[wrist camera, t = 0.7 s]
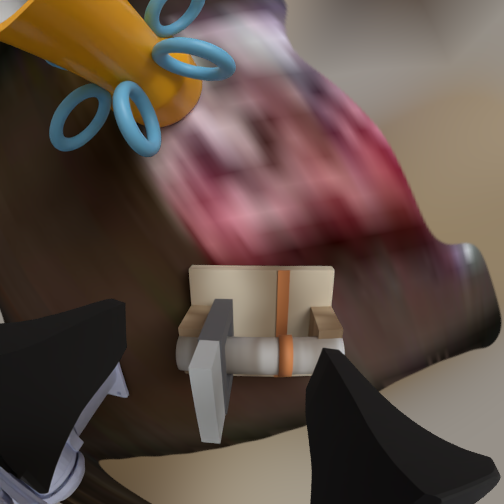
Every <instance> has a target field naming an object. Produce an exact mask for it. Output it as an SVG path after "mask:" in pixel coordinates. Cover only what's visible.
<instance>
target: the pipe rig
mask: <svg viewBox="0 0 504 504" xmlns="http://www.w3.org/2000/svg"><path fill="white" fill-rule="evenodd" d="M189 280H190V293H191V307H190V308H189V310H188V312H187V313H186V315H185V317H184V319H183V320H182V322H181V324H180V325H179V327H178V330H179V338H178V341H177V346H176V362H177V366H178V369H179V370H184V371H185V374H189V369H188V367H189V365H190V362H191V360H192V357H193V355H194V352H195V350H196V347H197V345H198V338H199V335H200V333H201V330H202V328H203V326H204V323H205V321H206V319H207V316H208V314H209V311H210V309H211V307H212V304H213V302H214V300H215V299H233V325H234V336H227V340H226V344H225V359H226V374H233V376H274V377H291V376H312V374H313V371H314V369H315V366H316V364H317V361H318V359H319V356H320V354H321V351H322V348H330V349H337V350H340V351H341V352H342V353H343V354H344V355H345V353H344V343H343V339H342V334H343V328H342V326H341V324H340V322H339V320H338V318H337V317H336V315H335V313H334V311H333V309H332V307H331V302H332V293H333V282H334V269H333V268H332V266H221V265H192V266H191V267H190V268H189Z"/></svg>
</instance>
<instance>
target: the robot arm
mask: <svg viewBox="0 0 504 504" xmlns="http://www.w3.org/2000/svg"><path fill="white" fill-rule="evenodd" d="M126 348H127V343H126V318H125V303H124V302H121V301H118V300H114V299H107V300H103V301H99V302H96V303H92V304H89V305H86V306H82V307H79V308H76V309H73V310H69V311H66V312H62V313H59V314H55V315H51V316H47V317H43V318H39V319H34V320H29V321H22V322H15V323H2V324H0V504H57V503H58V502H60V501H62V500H64V499H66V498H68V497H69V496H70V495H71V494H72V493H73V492H74V491H75V490H76V488H77V487H78V486H79V484H80V482H81V480H82V478H83V475H84V472H85V464H84V463H85V460H84V456H83V454H82V453H81V452H80V451H79V449H80V448H81V446H82V444H83V441H82V440H81V439H80V438H79V436H80V434H81V433H82V431H83V429H84V428H85V426H86V425H87V423H88V422H89V420H90V419H91V417H92V416H93V414H94V413H95V411H96V410H97V408H98V407H99V405H100V404H101V403H102V401H103V400H104V398H105V397H106V395H107V394H111V395H115V396H119V397H124V398H127V397H128V395H129V392H128V389H127V386H126V383H125V380H124V377H123V373H122V370H121V367H120V363H119V361H120V359H121V357H122V355H123V353H124V351H125V350H126ZM306 421H307V429H308V438H309V446H310V454H311V466H312V484H311V503H310V504H475V503H476V502H477V501H479V500H480V499H481V498H482V497H484V496H485V495H486V494H487V493H488V492H490V491H491V490H492V489H493V488H494V487H495V486H496V485H497V483H498V482H499V480H500V474H499V472H498V470H497V468H496V466H495V464H494V462H493V460H492V459H491V458H490V457H487V456H484V455H481V454H477V453H474V452H471V451H468V450H465V449H463V448H460V447H458V446H456V445H454V444H451V443H449V442H447V441H445V440H443V439H441V438H439V437H438V436H436V435H434V434H432V433H431V432H429V431H427V430H426V429H424V428H423V427H421V426H419V425H418V424H417V423H415V422H414V421H412V420H411V419H410V418H408V417H407V416H406V415H404V414H403V413H402V412H401V411H399V410H398V409H397V408H396V407H395V406H393V405H392V404H391V403H390V402H389V401H388V400H387V399H386V398H385V397H384V396H382V395H381V394H380V393H379V392H378V391H377V390H376V389H375V388H374V387H373V386H372V385H371V384H370V382H369V381H368V380H367V379H366V378H365V377H364V376H363V375H362V374H361V373H360V372H359V371H358V369H357V368H356V367H355V366H354V365H353V364H352V363H351V362H350V361H349V359H348V358H347V357H346V356H345V355H344V354H343V353H342V352H341V351H340V350H337V349H330V348H322V351H321V354H320V356H319V359H318V361H317V364H316V366H315V369H314V371H313V374H312V376H311V379H310V381H309V383H308V386H307V388H306Z"/></svg>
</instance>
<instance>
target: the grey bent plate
mask: <svg viewBox="0 0 504 504" xmlns="http://www.w3.org/2000/svg"><path fill="white" fill-rule="evenodd" d="M227 336H234V325H233V299H215V300H214V302H213V304H212V307H211V309H210V311H209V314H208V316H207V319H206V321H205V323H204V326H203V328H202V330H201V333H200V335H199V338H198V345H197V347H196V350H195V352H194V355H193V357H192V360H191V362H190V365H189V367H188V369H189V375H190V382H191V388H192V394H193V399H194V405H195V410H196V415H197V421H198V426H199V431H200V435H201V440H202V442H210V443H220V442H221V436H222V430H223V424H224V418H225V414H227V410H228V404H229V398H230V392H231V386H232V380H233V374H226V359H225V344H226V340H227Z"/></svg>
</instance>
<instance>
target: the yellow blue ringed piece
mask: <svg viewBox="0 0 504 504" xmlns="http://www.w3.org/2000/svg"><path fill="white" fill-rule="evenodd" d="M166 1H167V0H150V2H149V4H148V6H147V8H146V11H145V16H144V20H143V19H142V17H141V16H140V15H139V14H138V13H137V11H136V10H135V9H134V8H133V7H132V6H131V4H130V3H129V2H128V1H127V0H0V41H2V42H4V43H7V44H9V45H12V46H14V47H17V48H19V49H22V50H24V51H27V52H29V53H31V54H34V55H36V56H38V57H40V58H43V59H45V61H46V62H47V63H49V64H50V65H52V66H54V67H57V68H60V69H64V70H68V71H70V72H72V73H74V74H76V75H78V76H80V77H82V78H84V79H86V80H88V81H90V82H92V83H91V84H86V85H84V86H81V87H79V88H77V89H76V90H74V91H73V92H72V93H70V94H69V95H68V96H67V97H66V98H65V99H64V100H63V101H62V102H61V104H60V105H59V106H58V108H57V110H56V111H55V113H54V115H53V118H52V120H51V124H50V130H49V135H50V140H51V142H52V144H53V146H54V147H55V148H56V149H58V150H60V151H72V150H75V149H77V148H79V147H81V146H83V145H84V144H86V143H87V142H88V141H89V140H91V139H92V138H93V137H94V136H95V135H96V134H97V132H98V131H99V130H100V129H101V127H102V126H103V124H104V123H105V121H106V119H107V117H108V115H109V112H110V109H111V110H112V111H114V115H115V119H116V122H117V125H118V127H119V129H120V131H121V133H122V135H123V137H124V139H125V140H126V142H127V143H128V144H129V146H130V147H131V148H132V149H133V150H134V151H135V152H136V153H138V154H139V155H141V156H144V157H151V156H154V155H155V154H156V153H157V152H158V151H159V149H160V146H161V131H160V127H165V126H168V125H171V124H174V123H176V122H178V121H179V120H181V119H182V118H184V117H185V116H186V115H187V114H188V113H189V112H190V111H191V110H192V109H193V108H194V106H195V105H196V103H197V102H198V100H199V97H200V95H201V91H202V80H206V81H219V80H224V79H227V78H229V77H230V76H232V75H233V73H234V72H235V68H236V66H235V62H234V60H233V58H232V57H231V56H230V55H229V54H228V53H227V52H225V51H224V50H223V49H221V48H219V47H217V46H215V45H213V44H211V43H208V42H205V41H202V40H198V39H192V38H183V37H177V38H175V37H173V35H175V34H177V33H179V32H181V31H182V30H184V29H185V28H186V27H187V26H188V25H190V24H191V23H192V22H193V20H194V19H195V18H196V17H197V16H198V14H199V13H200V11H201V9H202V7H203V5H204V3H205V0H192V1H191V4H190V6H189V8H188V9H187V11H186V12H185V13H184V15H183V16H182V17H181V18H179V19H178V20H177V21H176V22H174V23H172V24H170V25H168V26H162V25H161V24H160V22H159V15H160V11H161V9H162V7H163V5H164V3H165V2H166ZM191 55H195V56H198V57H201V58H204V59H206V60H209V61H211V62H212V63H214V64H215V65H217V66H218V67H215V68H207V67H199V66H197V65H196V64H195V62H194V60H193V59H192V57H191ZM90 97H96V98H97V99H98V100H99V107H98V111H97V113H96V115H95V117H94V119H93V120H92V122H91V123H90V124H89V125H88V127H87V128H86V129H85V130H83V131H82V132H81V133H80V134H78V135H76V136H74V137H72V138H66V137H64V135H63V126H64V123H65V120H66V118H67V117H68V115H69V113H70V112H71V111H72V110H73V108H74V107H75V106H76V105H78V104H79V103H80V102H81V101H83V100H85V99H87V98H90ZM136 122H137V123H139V124H141V125H144V126H145V128H146V133H147V139H146V138H145V137H144V135H143V134H142V133H141V131H140V129H139V128H138V126H137V124H136Z"/></svg>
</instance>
